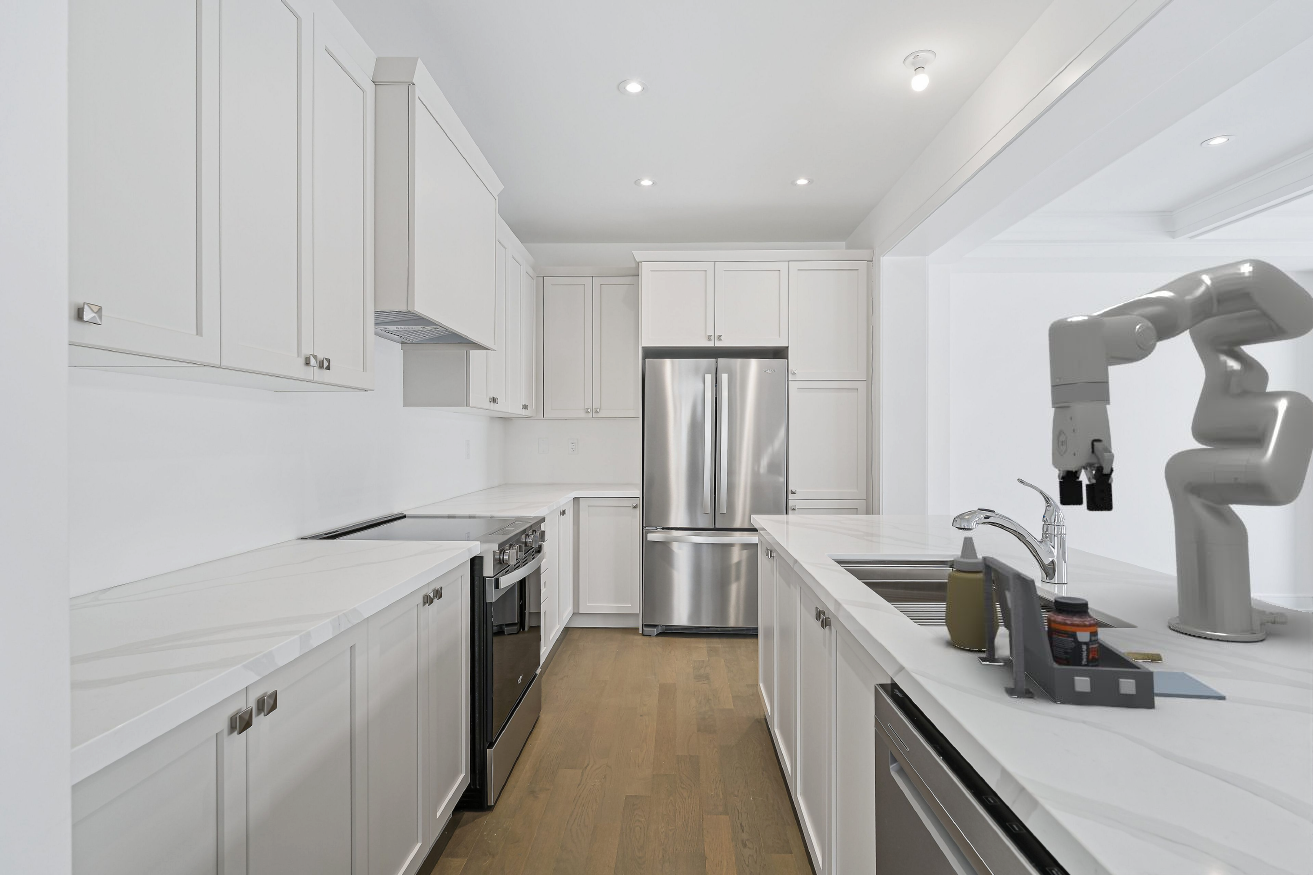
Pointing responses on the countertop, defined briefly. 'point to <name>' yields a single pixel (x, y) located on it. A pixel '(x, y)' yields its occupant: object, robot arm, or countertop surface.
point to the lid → (1024, 613)
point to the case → (1094, 679)
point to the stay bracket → (1016, 624)
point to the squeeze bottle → (967, 600)
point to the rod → (1144, 656)
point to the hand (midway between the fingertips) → (1085, 507)
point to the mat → (1182, 686)
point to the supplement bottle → (1073, 633)
